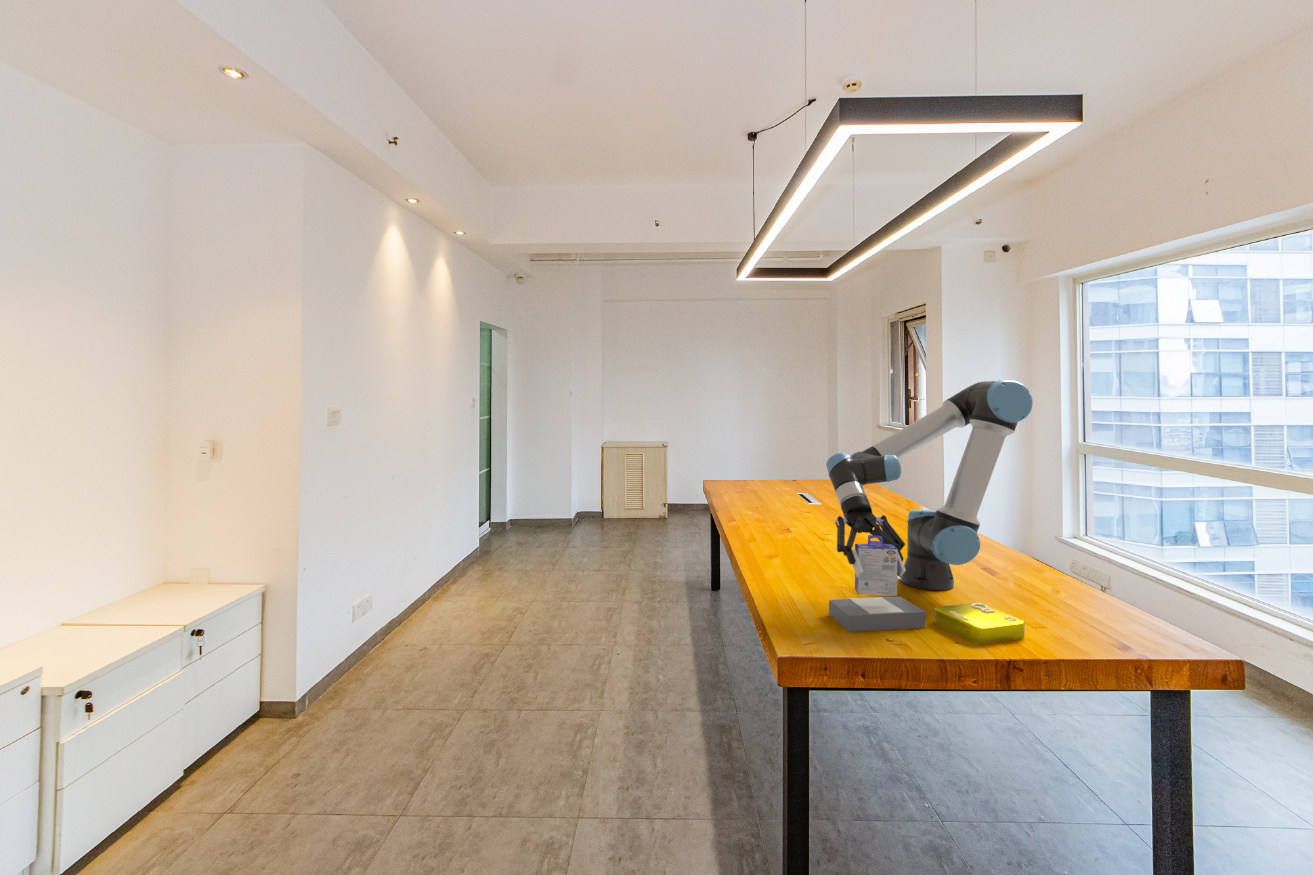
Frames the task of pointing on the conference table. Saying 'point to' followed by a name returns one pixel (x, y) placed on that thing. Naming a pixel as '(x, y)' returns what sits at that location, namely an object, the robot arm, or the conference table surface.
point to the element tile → (979, 623)
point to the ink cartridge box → (877, 568)
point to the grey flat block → (876, 614)
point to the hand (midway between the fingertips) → (881, 574)
